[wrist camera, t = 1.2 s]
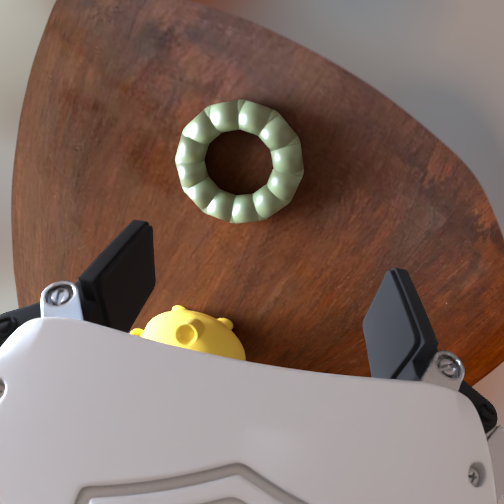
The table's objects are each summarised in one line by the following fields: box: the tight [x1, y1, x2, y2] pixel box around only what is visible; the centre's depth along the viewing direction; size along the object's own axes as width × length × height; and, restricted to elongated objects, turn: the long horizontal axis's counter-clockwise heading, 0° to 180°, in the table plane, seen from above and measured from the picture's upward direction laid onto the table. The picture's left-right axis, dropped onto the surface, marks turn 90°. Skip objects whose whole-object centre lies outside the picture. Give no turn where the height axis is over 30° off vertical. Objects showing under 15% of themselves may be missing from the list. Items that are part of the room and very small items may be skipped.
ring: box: [175, 99, 304, 223], centre depth 24 cm, size 10×10×2 cm
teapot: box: [130, 306, 246, 361], centre depth 32 cm, size 14×14×11 cm
